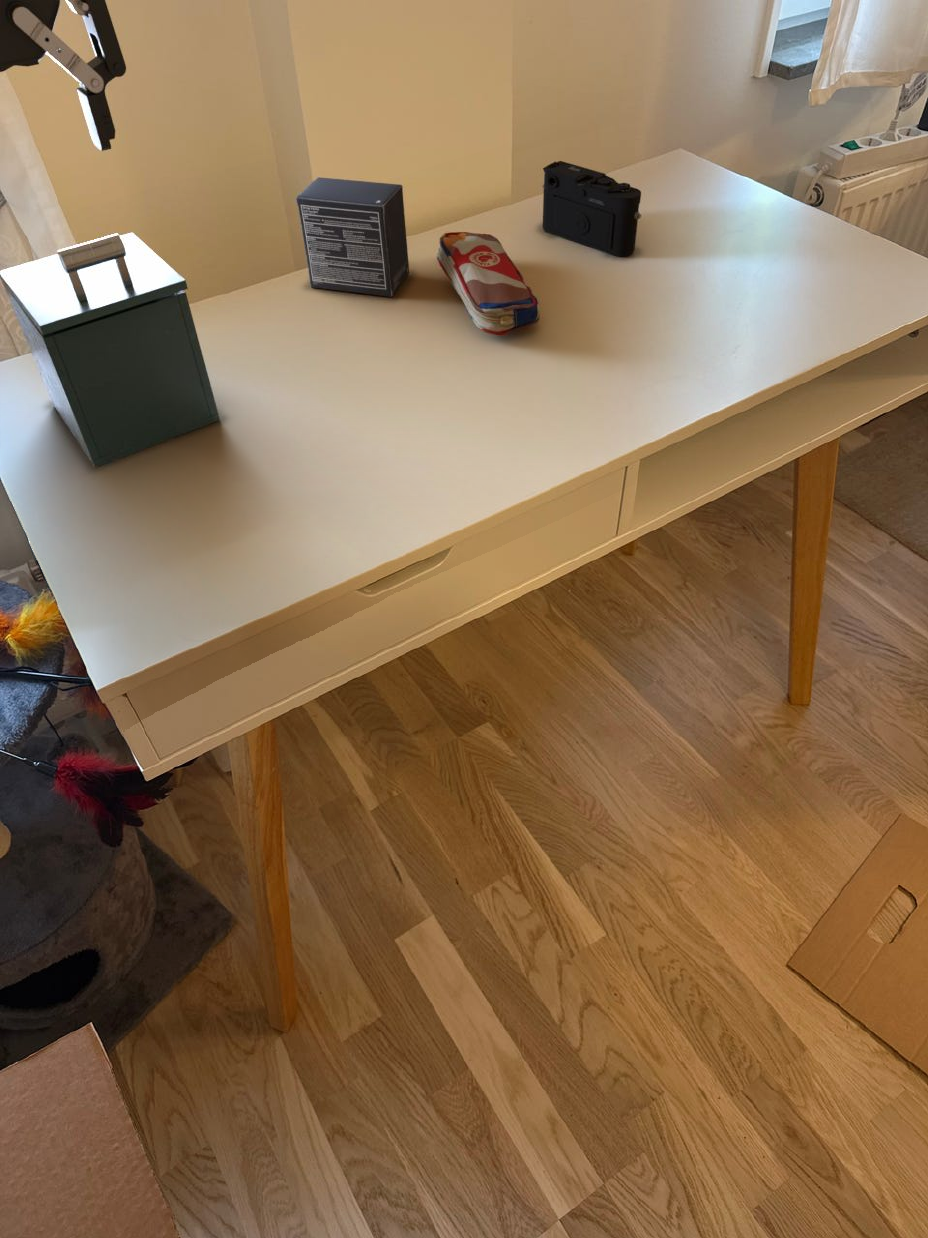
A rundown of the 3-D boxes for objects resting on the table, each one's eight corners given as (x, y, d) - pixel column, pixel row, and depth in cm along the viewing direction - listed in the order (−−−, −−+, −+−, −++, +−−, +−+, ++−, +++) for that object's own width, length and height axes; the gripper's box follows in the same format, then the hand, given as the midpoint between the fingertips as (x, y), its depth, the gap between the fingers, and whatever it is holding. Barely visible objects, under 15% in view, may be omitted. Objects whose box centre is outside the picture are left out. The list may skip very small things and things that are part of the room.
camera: (660, 240, 114) (668, 173, 108) (626, 262, 110) (633, 193, 105) (566, 210, 121) (569, 145, 115) (532, 230, 117) (533, 164, 111)
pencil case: (528, 258, 112) (529, 216, 108) (542, 343, 99) (543, 299, 95) (437, 262, 112) (434, 220, 108) (438, 348, 99) (435, 304, 95)
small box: (412, 272, 110) (405, 181, 103) (393, 298, 106) (384, 206, 99) (330, 262, 113) (317, 173, 105) (308, 287, 109) (293, 196, 101)
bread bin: (220, 420, 91) (186, 292, 81) (95, 467, 86) (43, 338, 77) (171, 364, 98) (134, 240, 89) (53, 405, 94) (1, 280, 84)
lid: (188, 288, 80) (171, 229, 77) (43, 335, 76) (18, 274, 72) (134, 240, 89) (117, 184, 85) (1, 279, 84) (-24, 222, 80)
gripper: (47, -151, 59) (122, 124, 71) (-198, -122, 54) (-73, 170, 65) (85, -137, 55) (159, 153, 66) (-177, -104, 49) (-47, 205, 61)
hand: (44, 161), depth 66 cm, fingers open, 8 cm apart
